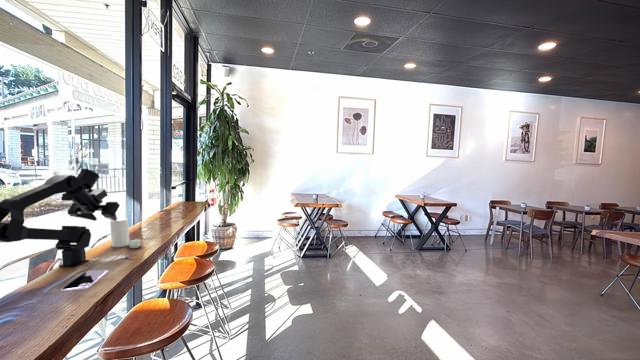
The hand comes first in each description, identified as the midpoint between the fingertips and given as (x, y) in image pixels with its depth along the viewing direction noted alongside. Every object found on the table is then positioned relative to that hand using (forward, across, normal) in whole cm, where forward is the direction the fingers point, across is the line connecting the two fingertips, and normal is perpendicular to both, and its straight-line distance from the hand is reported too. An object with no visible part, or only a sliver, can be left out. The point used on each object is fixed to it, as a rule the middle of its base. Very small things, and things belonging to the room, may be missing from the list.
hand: (106, 219), depth 126 cm
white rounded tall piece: (+15, 0, +4) cm, 16 cm away
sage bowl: (+13, -9, +6) cm, 17 cm away
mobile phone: (-11, -17, +31) cm, 37 cm away
